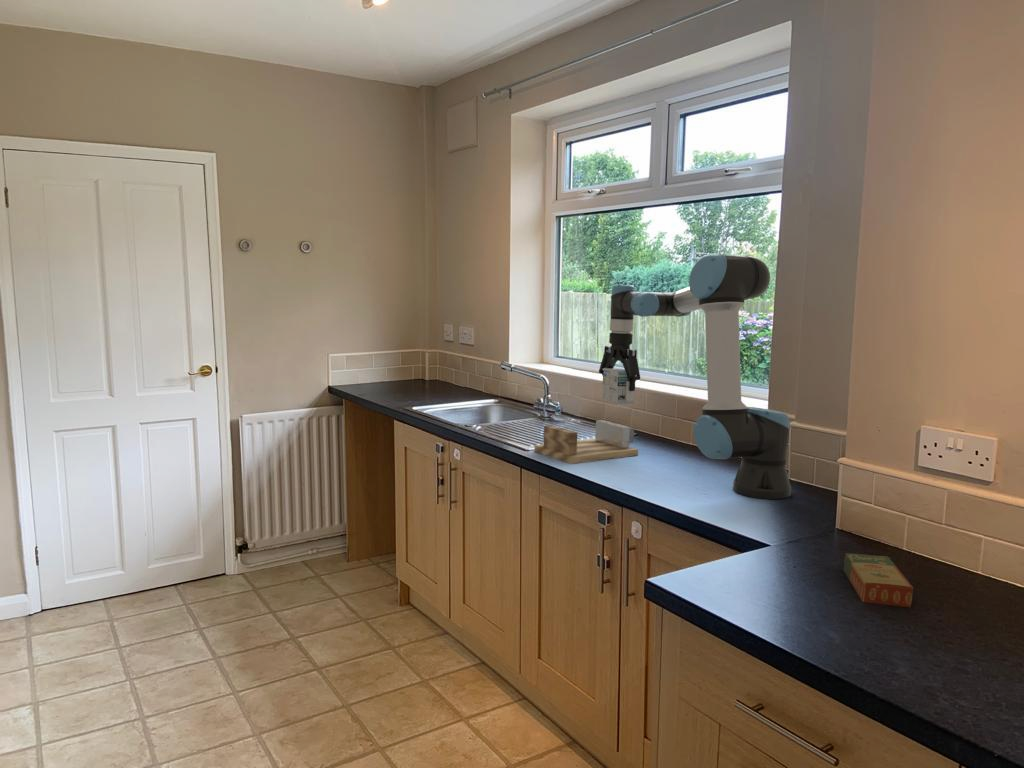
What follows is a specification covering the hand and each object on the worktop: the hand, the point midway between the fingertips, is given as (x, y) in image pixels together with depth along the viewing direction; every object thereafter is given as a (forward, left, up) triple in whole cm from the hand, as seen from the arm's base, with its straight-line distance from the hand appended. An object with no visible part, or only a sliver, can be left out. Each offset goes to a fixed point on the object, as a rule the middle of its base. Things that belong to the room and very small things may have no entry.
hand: (617, 398), depth 247 cm
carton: (-111, +31, -19) cm, 117 cm away
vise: (+4, +9, -19) cm, 21 cm away
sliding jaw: (+4, -5, -17) cm, 18 cm away
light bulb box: (0, 0, -1) cm, 1 cm away
